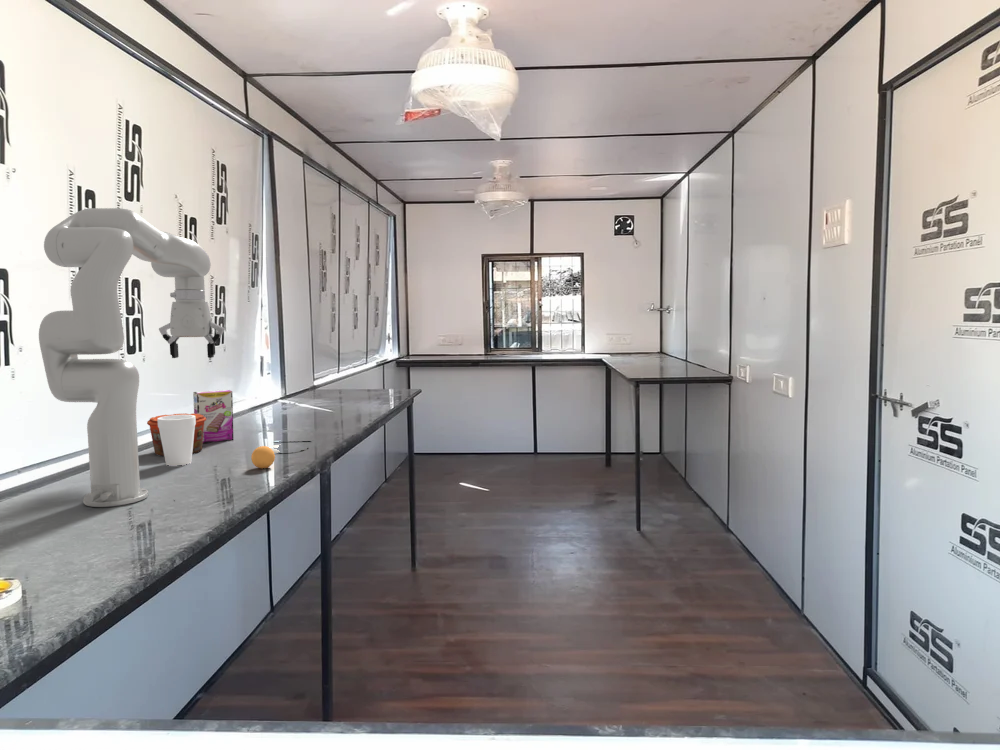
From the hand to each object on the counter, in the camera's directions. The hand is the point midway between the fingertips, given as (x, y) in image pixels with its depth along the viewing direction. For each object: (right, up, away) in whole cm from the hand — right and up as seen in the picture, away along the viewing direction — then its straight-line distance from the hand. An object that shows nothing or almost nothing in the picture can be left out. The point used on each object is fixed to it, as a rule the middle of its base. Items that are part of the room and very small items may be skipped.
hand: (193, 357), depth 189 cm
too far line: (+20, -27, +28) cm, 43 cm away
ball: (+23, -27, -9) cm, 37 cm away
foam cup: (-2, -30, -3) cm, 30 cm away
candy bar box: (-6, -27, +29) cm, 40 cm away
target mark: (+21, -28, +16) cm, 38 cm away
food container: (-10, -28, +12) cm, 32 cm away
